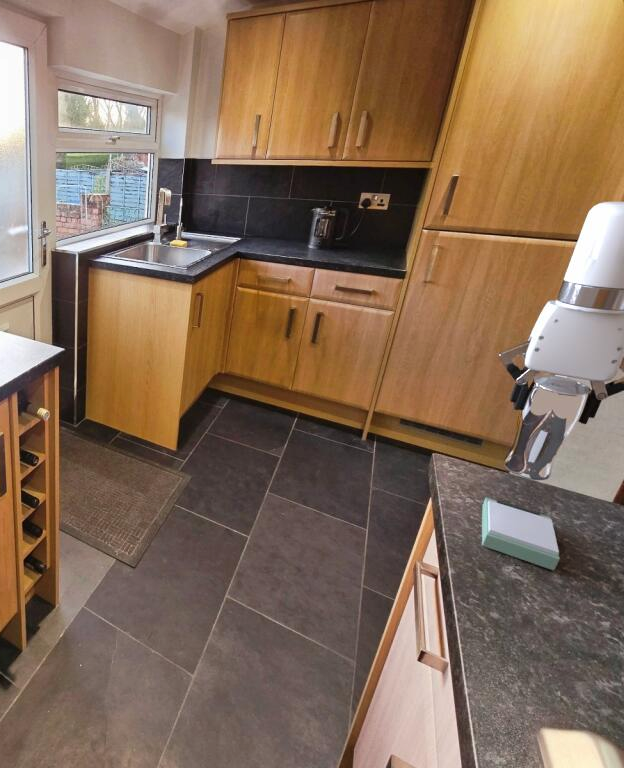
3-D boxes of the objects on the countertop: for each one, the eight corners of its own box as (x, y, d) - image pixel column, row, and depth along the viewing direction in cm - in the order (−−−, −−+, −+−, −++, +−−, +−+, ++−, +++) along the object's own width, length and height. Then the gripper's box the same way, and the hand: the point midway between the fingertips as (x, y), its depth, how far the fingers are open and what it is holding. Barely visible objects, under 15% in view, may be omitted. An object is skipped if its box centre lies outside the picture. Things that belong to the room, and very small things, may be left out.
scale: (481, 507, 78) (487, 494, 77) (545, 527, 74) (552, 513, 73) (482, 545, 70) (488, 531, 69) (554, 571, 66) (561, 555, 65)
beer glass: (564, 475, 77) (604, 389, 70) (535, 487, 75) (574, 399, 68) (517, 452, 83) (550, 371, 76) (488, 462, 80) (520, 379, 74)
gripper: (674, 301, 66) (620, 420, 73) (513, 285, 75) (478, 392, 82) (693, 312, 61) (632, 440, 67) (516, 293, 70) (478, 407, 77)
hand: (548, 412), depth 75 cm, fingers closed on beer glass, 7 cm apart
